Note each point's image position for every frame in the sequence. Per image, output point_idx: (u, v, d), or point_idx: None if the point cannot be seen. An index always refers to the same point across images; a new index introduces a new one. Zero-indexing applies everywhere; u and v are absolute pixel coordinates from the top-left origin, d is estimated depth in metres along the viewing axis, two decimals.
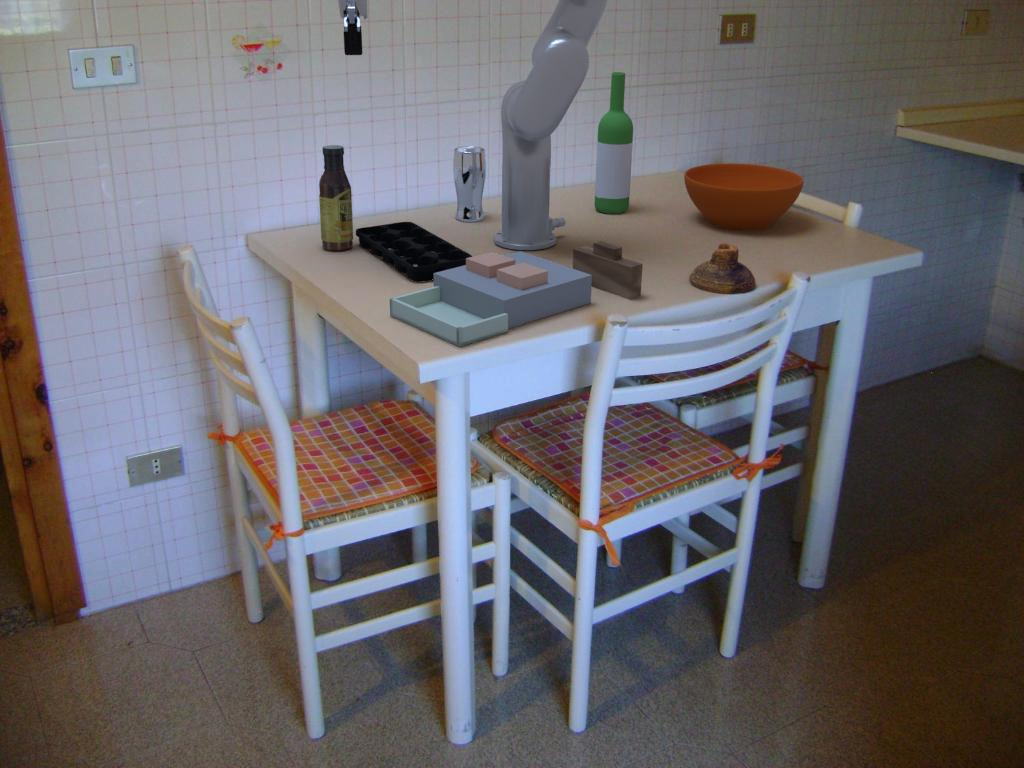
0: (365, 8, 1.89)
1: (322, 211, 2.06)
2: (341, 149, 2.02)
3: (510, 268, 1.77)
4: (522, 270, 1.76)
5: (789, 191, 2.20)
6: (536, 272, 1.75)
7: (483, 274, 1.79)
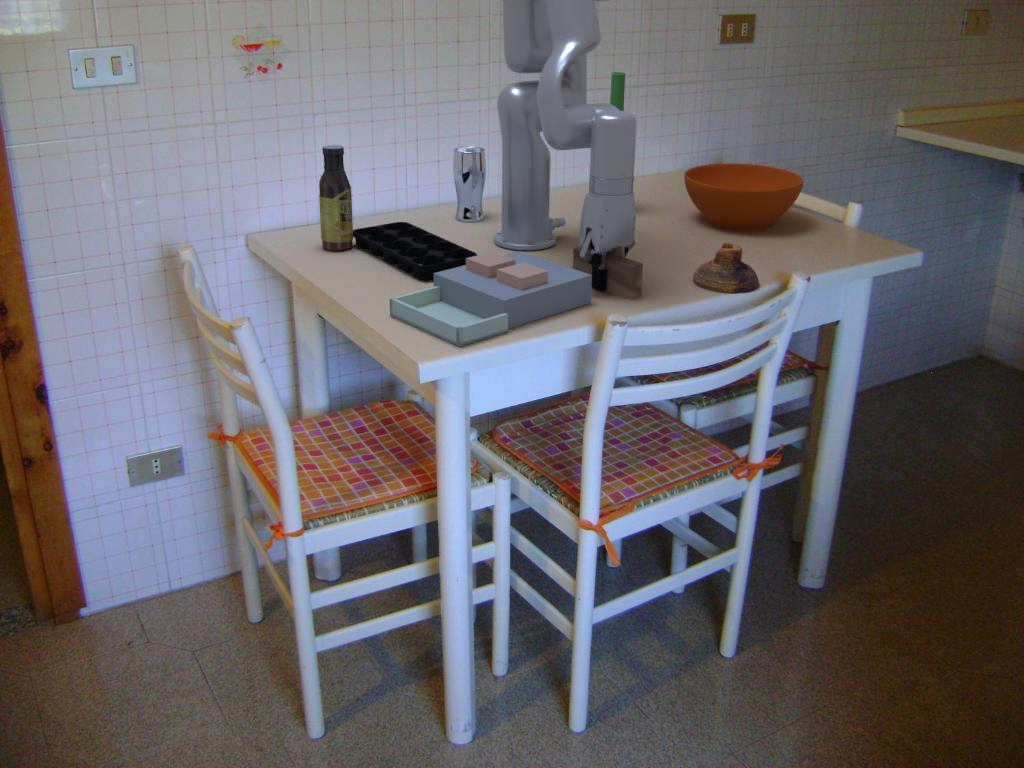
0: None
1: (322, 211, 2.06)
2: (341, 149, 2.02)
3: (510, 268, 1.77)
4: (522, 270, 1.76)
5: (789, 191, 2.20)
6: (536, 272, 1.75)
7: (483, 274, 1.79)
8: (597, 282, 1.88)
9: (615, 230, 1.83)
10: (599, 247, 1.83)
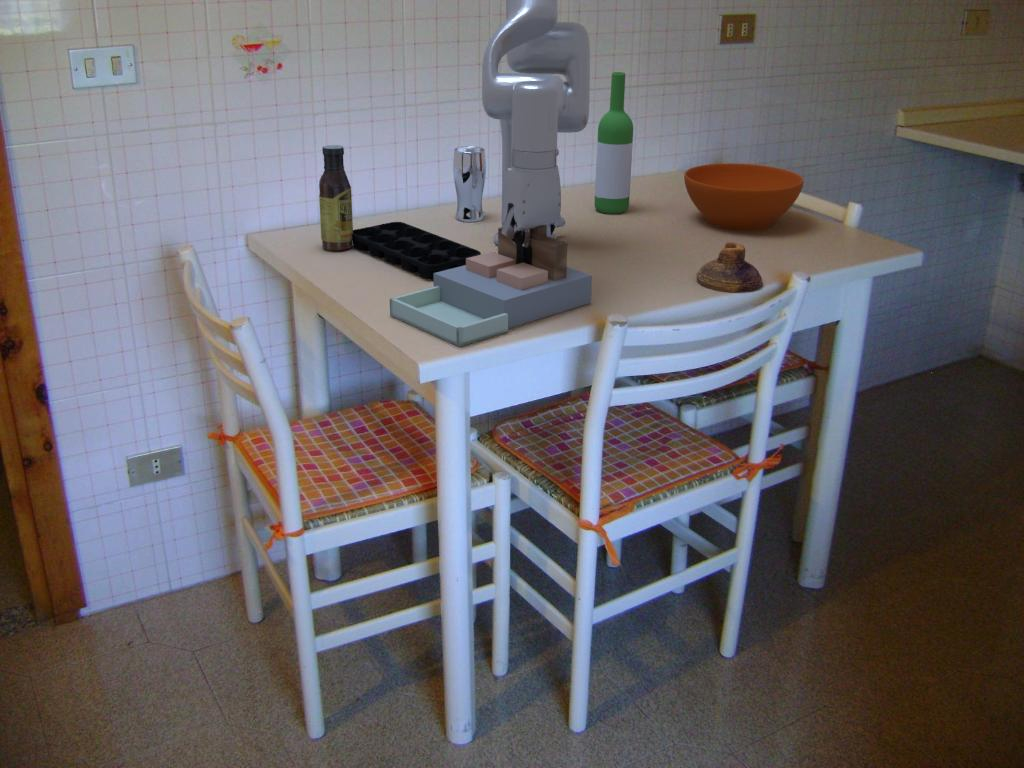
0: None
1: (322, 211, 2.06)
2: (341, 149, 2.02)
3: (510, 268, 1.77)
4: (522, 270, 1.76)
5: (789, 191, 2.20)
6: (536, 272, 1.75)
7: (483, 274, 1.79)
8: (521, 260, 1.80)
9: (539, 205, 1.76)
10: (521, 223, 1.75)
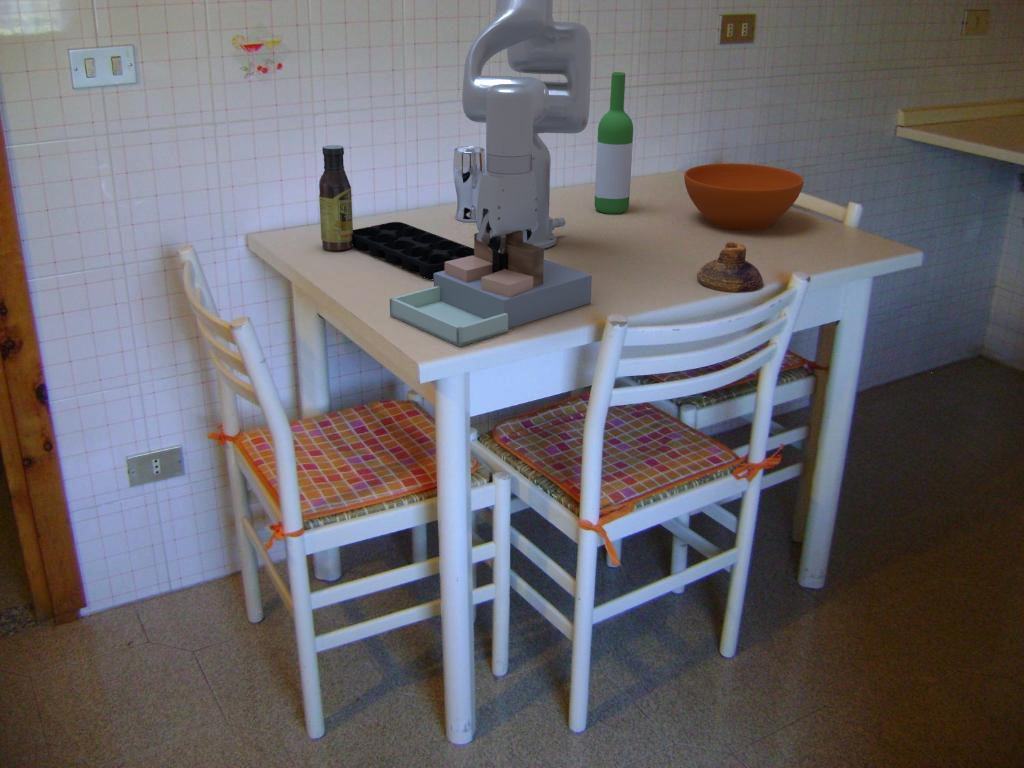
0: None
1: (322, 211, 2.06)
2: (341, 149, 2.02)
3: (494, 275, 1.74)
4: (507, 277, 1.73)
5: (789, 191, 2.20)
6: (521, 278, 1.72)
7: (461, 278, 1.77)
8: (497, 267, 1.77)
9: (514, 211, 1.73)
10: (497, 229, 1.72)
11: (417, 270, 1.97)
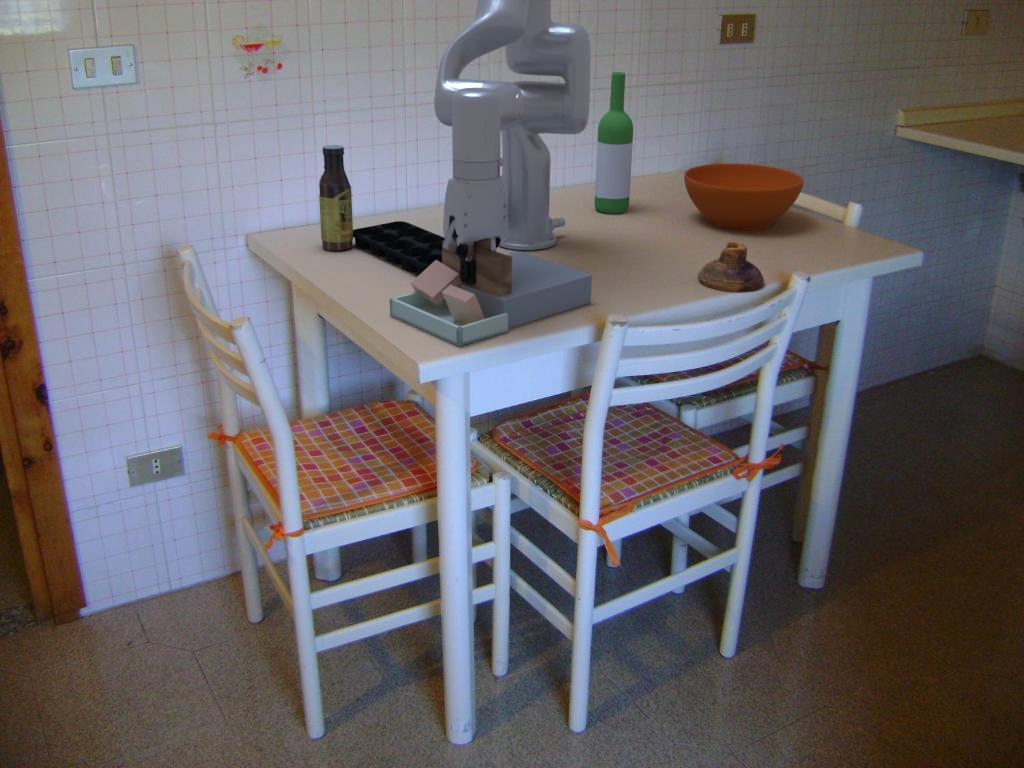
0: None
1: (322, 211, 2.06)
2: (341, 149, 2.02)
3: (453, 311, 1.71)
4: (460, 311, 1.69)
5: (789, 191, 2.20)
6: (466, 309, 1.67)
7: (431, 300, 1.75)
8: (465, 275, 1.73)
9: (481, 218, 1.69)
10: (463, 237, 1.68)
11: (415, 270, 1.97)
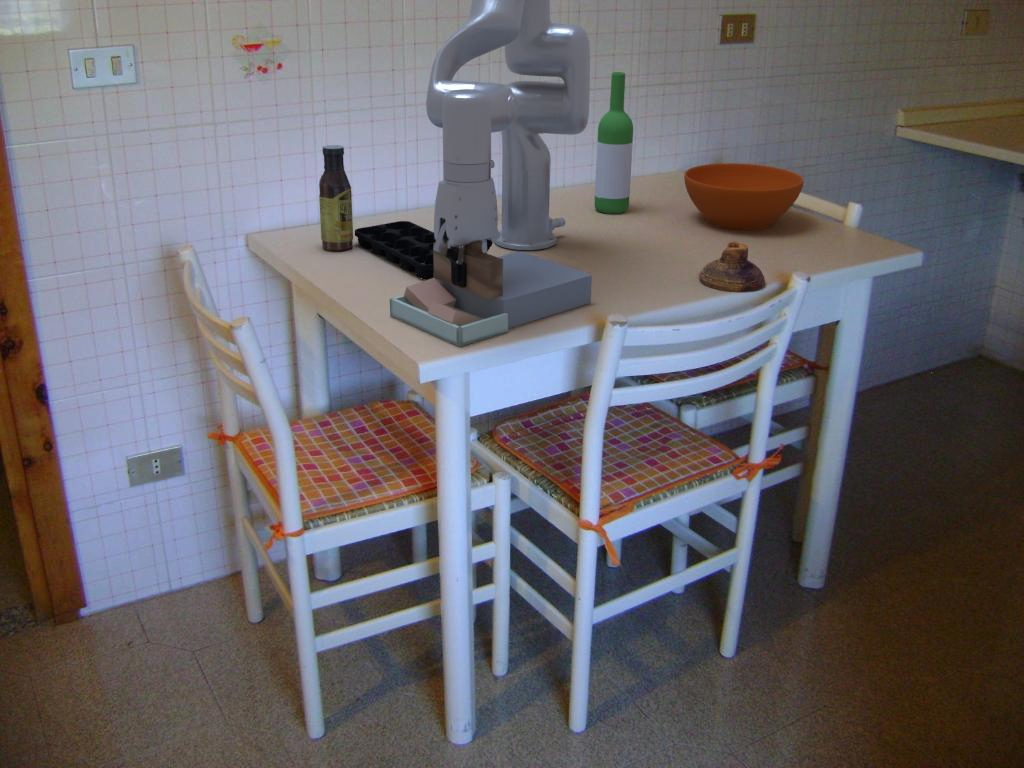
0: None
1: (322, 211, 2.06)
2: (341, 149, 2.02)
3: None
4: None
5: (789, 191, 2.20)
6: None
7: None
8: (456, 278, 1.72)
9: (472, 220, 1.68)
10: (454, 239, 1.67)
11: (414, 270, 1.97)
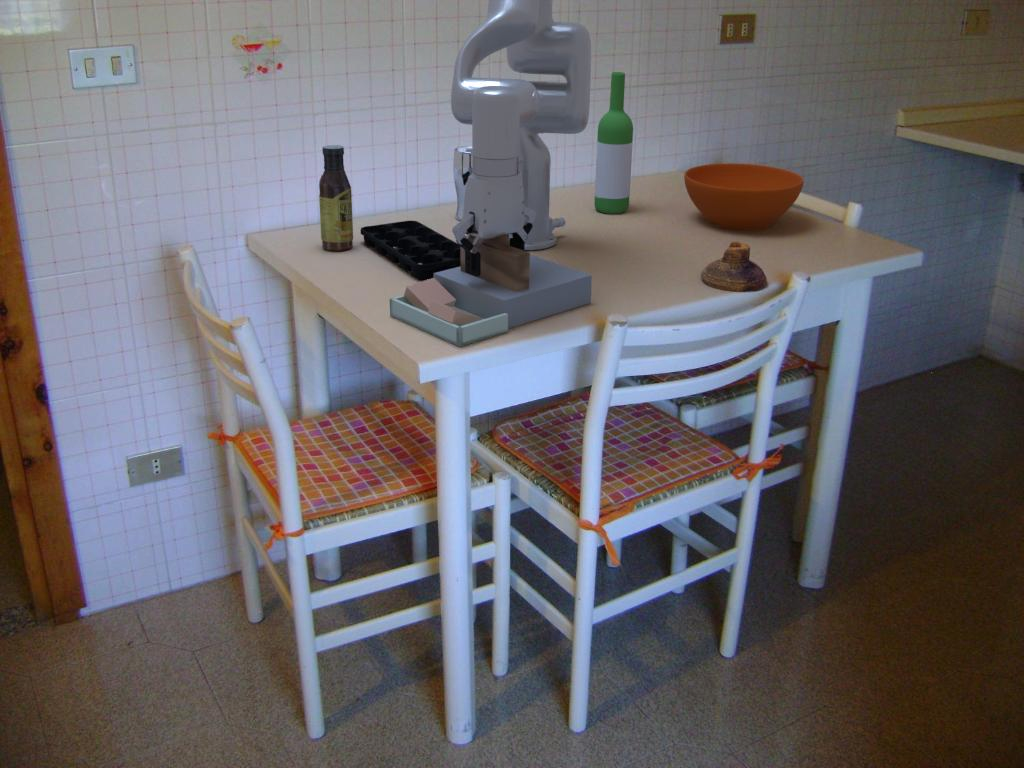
0: None
1: (322, 211, 2.06)
2: (341, 149, 2.02)
3: None
4: None
5: (789, 191, 2.20)
6: None
7: None
8: (470, 267, 1.73)
9: (501, 214, 1.71)
10: (483, 233, 1.70)
11: (411, 269, 1.97)
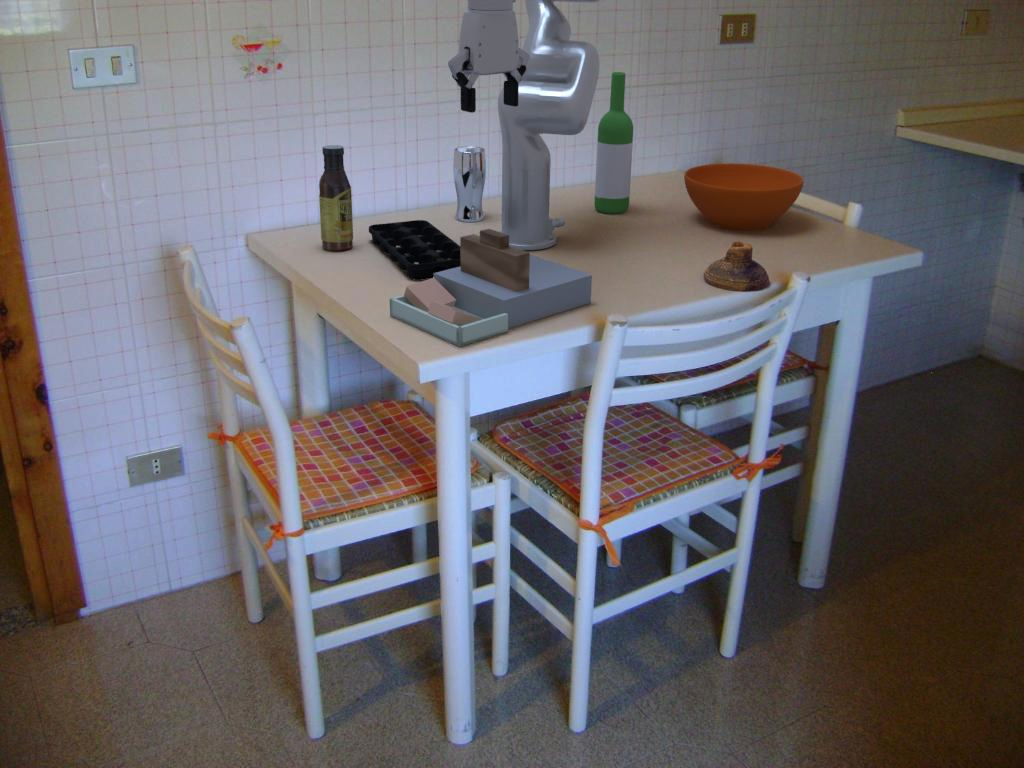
0: None
1: (322, 211, 2.06)
2: (341, 149, 2.02)
3: None
4: None
5: (789, 191, 2.20)
6: None
7: None
8: (465, 102, 1.78)
9: (495, 50, 1.77)
10: (478, 67, 1.76)
11: None
